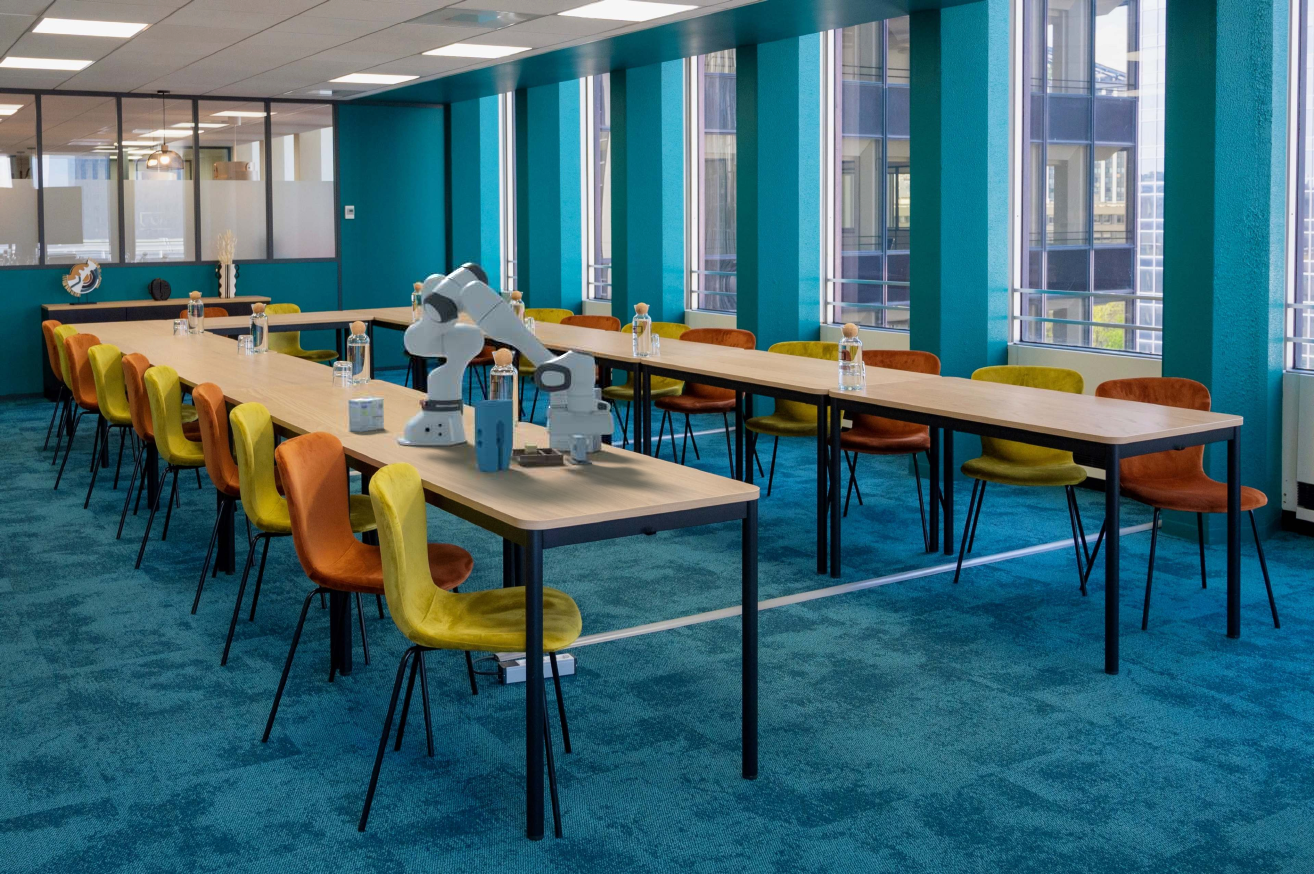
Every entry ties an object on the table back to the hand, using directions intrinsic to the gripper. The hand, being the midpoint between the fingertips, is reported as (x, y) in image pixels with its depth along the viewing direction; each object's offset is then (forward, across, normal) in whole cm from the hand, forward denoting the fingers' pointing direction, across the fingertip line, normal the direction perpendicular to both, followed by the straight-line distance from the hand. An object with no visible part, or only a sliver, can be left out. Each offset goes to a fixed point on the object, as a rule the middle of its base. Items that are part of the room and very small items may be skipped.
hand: (580, 449), depth 377 cm
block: (+4, -27, -5) cm, 28 cm away
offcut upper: (+1, -14, +8) cm, 15 cm away
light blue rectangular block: (+3, 0, +2) cm, 4 cm away
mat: (+4, 0, +2) cm, 5 cm away
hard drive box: (+4, +4, +24) cm, 24 cm away
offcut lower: (+3, -14, +7) cm, 16 cm away
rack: (+4, -12, +5) cm, 14 cm away
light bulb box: (+5, -57, +81) cm, 99 cm away
